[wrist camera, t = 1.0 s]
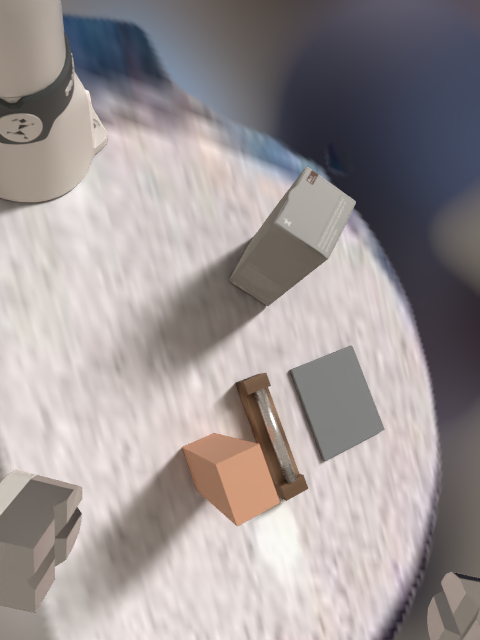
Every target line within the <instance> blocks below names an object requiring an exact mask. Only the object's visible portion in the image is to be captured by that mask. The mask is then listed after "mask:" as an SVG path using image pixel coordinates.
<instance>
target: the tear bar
mask: <svg viewBox="0 0 480 640" xmlns="http://www.w3.org/2000/svg"><path fill="white" fill-rule="evenodd" d="M236 386H237V389H238V392H239V394H240V397H241V400H242V403H243V406H244V409H245V411H246V414H247V417H248V420H249V423H250V425H251V428H252V431H253V434H254V437H255V439H256V442H257V444H260V447H261V450H262V453H263V456H264V458H265V461H266V464H267V467H268V470H269V473H270V475H271V478H272V481H273V484H274V487H275V489H276V492H277V495H278V497H280V498H282V499H284V500H286V501H287V500H289V499H290V498H292V497H294V496H296V495H298V494H300V493H301V492H303V491H305V490H307V489H308V486H307V484H306V481H305V478H304V475H302V474H299V472H298V469H297V466H296V463H295V461H294V458H293V455H292V452H291V450H290V447H289V444H288V441H287V439H286V436H285V433H284V430H283V428H282V425H281V422H280V419H279V417H278V414H277V411H276V408H275V406H274V403H273V400H272V397H271V395H270V392H269V389H268V387H269V386H271V385H270V382H269V379H268V377H267V374H266V373H262V374H257V375H255V376H252V377H249V378H247V379H244V380H242V381H239V382H237V383H236Z"/></svg>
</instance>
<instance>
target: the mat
mask: <svg viewBox="0 0 480 640" xmlns="http://www.w3.org/2000/svg"><path fill="white" fill-rule="evenodd" d="M290 373H291V376H292V378H293V381H294V384H295V386H296V389H297V392H298V394H299V397H300V400H301V403H302V405H303V408H304V411H305V413H306V416H307V419H308V422H309V424H310V427H311V430H312V432H313V435H314V438H315V440H316V443H317V446H318V449H319V451H320V454H321V457H322V459H323V460H324V461H326V460H328V459H330V458H332V457H334V456H336V455H337V454H339V453H341V452H343V451H345V450H347V449H349V448H351V447H353V446H354V445H356V444H358V443H360V442H362V441H364V440H366V439H368V438H370V437H371V436H373V435H375V434H377V433H379V432H381V431H383V430H385V429H384V427H383V424H382V422H381V419H380V416H379V414H378V411H377V409H376V406H375V403H374V401H373V398H372V396H371V393H370V390H369V388H368V385H367V383H366V380H365V378H364V375H363V372H362V370H361V367H360V365H359V362H358V359H357V357H356V354H355V352H354V349H353V347H352V346H349V347H346V348H344V349H341V350H339V351H336V352H334V353H331V354H329V355H326V356H324V357H321V358H319V359H316V360H314V361H311V362H309V363H306V364H304V365H301V366H299V367H296V368H294V369H291V370H290Z"/></svg>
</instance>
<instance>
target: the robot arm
mask: <svg viewBox="0 0 480 640" xmlns="http://www.w3.org/2000/svg"><path fill="white" fill-rule="evenodd" d="M94 127H95V128H94ZM107 141H108V138H107V132H106V130H105V128H104V126H103V125H102V123H101V121H100V119H99V118H98V116H97V114H96V113H95V111H94V109H93V107H92V106H91V98H90V94H89V92H88V91H87V90H85V89H84V87H83V85H82V83H81V82H80V80H79V78H78V77H77V75H76V74H75V72H74V62H73V57H72V53H71V50H70V44H69V41H68V38H67V36H66V34H65V32H64V28H63V18H62V8H61V0H0V198H3V199H7V200H11V201H17V202H40V201H46V200H50V199H54V198H57V197H59V196H61V195H63V194H65V193H67V192H69V191H70V190H72V189H73V188H74V187H75V186H76V185H78V184H79V182H80V181H81V180H82V179H83V177H84V176H85V174H86V172H87V170H88V168H89V165H90V162H91V160H92V158H93V156H94V155H95V154H96V153H98V152H99V151H100V150H101V149H102V148H103V147H104V146H105V145H106V143H107ZM81 500H82V487H80V486H77V485H73V484H69V483H66V482H62V481H58V480H54V479H50V478H47V477H43V476H39V475H34V474H30V473H26V472H22V471H18V470H15V471H13V472H11V473H9V474H8V475H7V476H6V477H5V478H4V479H3V480H2V481H1V482H0V605H1V606H5V607H10V608H15V609H19V610H24V611H29V612H34V613H36V611H37V609H38V608H39V606H40V604H41V602H42V601H43V599H44V597H45V596H46V594H47V592H48V590H49V589H50V587H51V585H52V583H53V582H54V580H55V566H57V565H59V564H60V563H62V562H63V561H65V560H66V559H67V557H68V555H69V554H70V552H71V550H72V548H73V546H74V544H75V541H76V539H77V536H78V534H79V530H80V525H81V518H82V513H81V512H80V510H79V509H78V507H77V506H78V505H79V503H80V501H81ZM441 583H442V586H443V588H444V592H442V593H440V594H438V595H435V596H434V597H433V599H432V601H431V603H430V605H429V608H428V620H427V622H428V629H429V635H430V639H431V640H480V578H477V577H473V576H468V575H464V574H459V573H454V572H450V573H448V574H446V575H445V577H444V579H443V580H442V582H441Z"/></svg>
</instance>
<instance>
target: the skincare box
mask: <svg viewBox="0 0 480 640" xmlns="http://www.w3.org/2000/svg"><path fill="white" fill-rule="evenodd" d="M355 203H356V201H354V200H353V199H352V198H350V197H348V196H347V195H346V194H345V193H343V192H342V191H340V190H339V189H338V188H336V187H335V186H333V185H332V184H331V183H329V182H328V181H326V180H325V179H324V178H322V177H321V176H320V175H318V174H317V173H315V172H314V171H313V170H311V169H310V168H309V167H306V168H305V169H304V170H303V172H302V173H301V174H300V175H299V177H298V178H297V179H296V181H295V182H294V183H293V185H292V186H291V187H290V189H289V190H288V191H287V193H286V194H285V195H284V197H283V198H282V199H281V200H280V202H279V203H278V204H277V206H276V207H275V209H274V210H273V211H272V213H271V214H270V215H269V217H268V218H267V219H266V221H265V222H264V224H263V225H262V226H261V228H260V229H259V231H258V232H257V233H256V234H255V236H254V237H253V238H252V240H251V242H250V243H249V245H248V246H247V248H246V250H245V252H244V254H243V255H242V257H241V259H240V261H239V262H238V264H237V266H236V268H235V270H234V271H233V273H232V275H231V277H230V279H229V282H231V283H232V284H234V285H236V286H237V287H239V288H240V289H242V290H243V291H245V292H247V293H248V294H250V295H251V296H253V297H254V298H256V299H257V300H259V301H261V302H262V303H263V304H265V305H266V306H269V305H270V304H271V303H273V302H274V301H275V300H277V299H278V298H279V297H280V296H282V295H283V294H284V293H285V292H287V291H288V290H289V289H290V288H292V287H293V286H294V285H295V284H297V283H298V282H299V281H300V280H302V279H303V278H304V277H305V276H307V275H308V274H309V273H311V272H312V271H313V270H314V269H316V268H317V267H318V266H319V265H321V264H322V263H323V262H325V261H326V260H328V258H329V257H330V255H331V253H332V251H333V249H334V247H335V245H336V243H337V241H338V239H339V237H340V235H341V233H342V231H343V229H344V227H345V225H346V223H347V221H348V219H349V216H350V214H351V212H352V210H353V208H354V206H355Z"/></svg>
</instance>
